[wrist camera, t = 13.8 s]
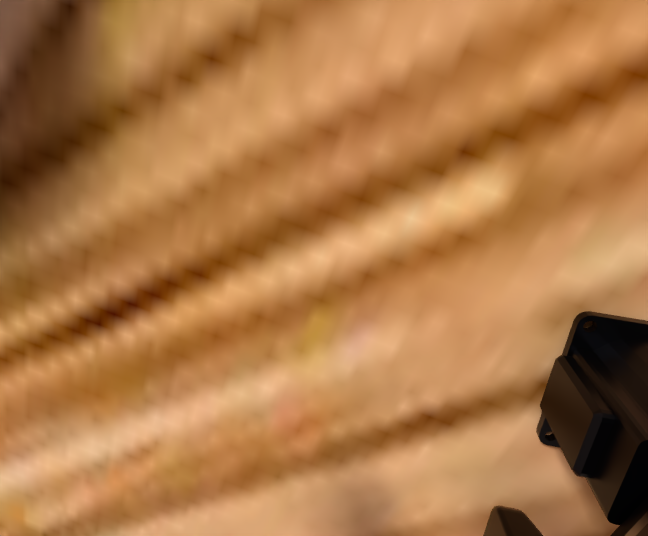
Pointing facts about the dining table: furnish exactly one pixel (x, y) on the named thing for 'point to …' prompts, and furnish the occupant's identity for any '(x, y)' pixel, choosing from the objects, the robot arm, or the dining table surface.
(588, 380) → the robot arm
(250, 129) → the dining table surface
